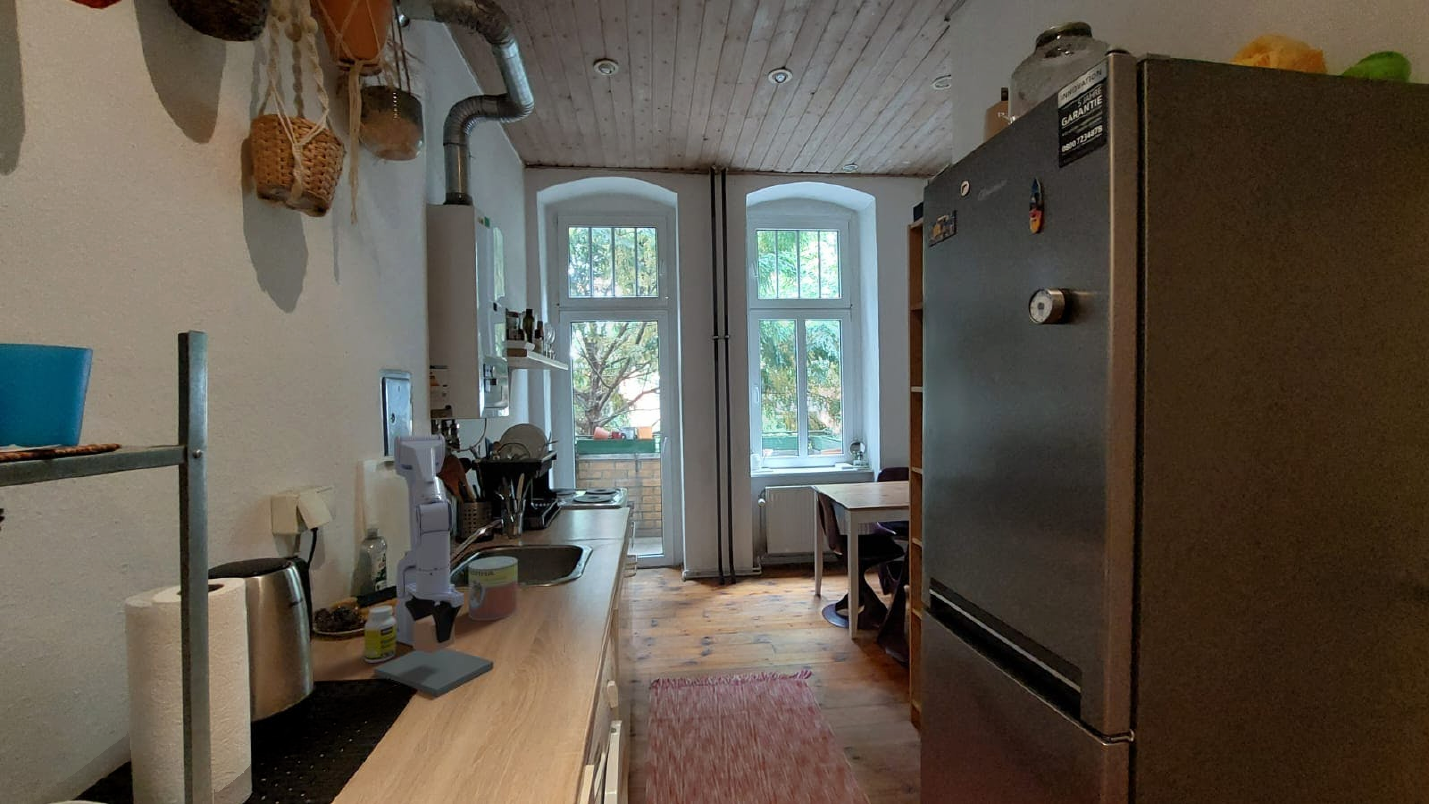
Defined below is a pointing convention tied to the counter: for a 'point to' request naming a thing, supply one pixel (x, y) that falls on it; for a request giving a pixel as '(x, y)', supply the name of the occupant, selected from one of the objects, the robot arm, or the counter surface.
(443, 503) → the robot arm
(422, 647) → the terracotta cube
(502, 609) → the canned food
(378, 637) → the supplement bottle
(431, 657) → the slate board
